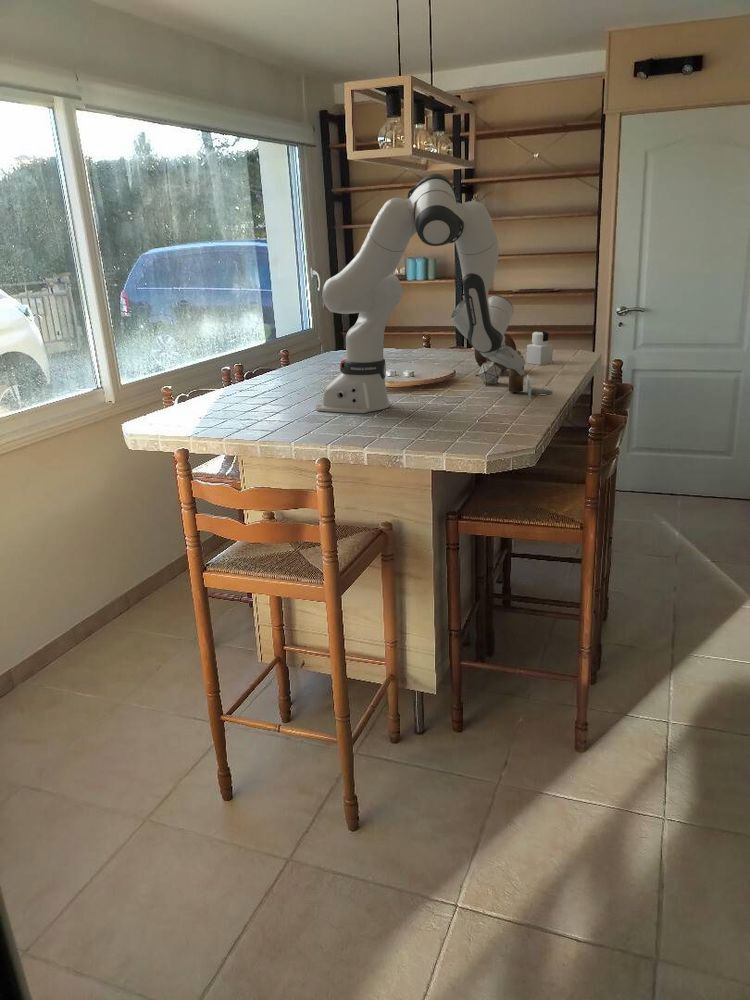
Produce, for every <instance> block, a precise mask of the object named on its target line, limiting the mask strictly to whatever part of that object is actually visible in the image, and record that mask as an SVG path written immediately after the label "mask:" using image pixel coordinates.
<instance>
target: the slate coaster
mask: <svg viewBox="0 0 750 1000" xmlns="http://www.w3.org/2000/svg"><path fill="white" fill-rule="evenodd" d="M551 392H552V390H550V389H542V388H541V389H537V388H536V389H531V393H533V394H549V393H551ZM533 394H532V395H533ZM551 394H552V393H551ZM549 395H550V394H549Z"/></svg>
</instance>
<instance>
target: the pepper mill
mask: <svg viewBox="0 0 750 1000" xmlns="http://www.w3.org/2000/svg"><path fill="white" fill-rule="evenodd" d="M516 352H517V353H518V354H519V355H520V356H521V357H522V358H523V359H524V356H523V355H522V353H521V352H522V351H520V350H516ZM522 369H523V370H524V371H525V365H524V366H523V367H522ZM524 376H525V373H524V374H523V375H522V376H521V375H519V374H518V373H517V372H516V370H514V369H512V368H509V369H508V392H510V393H521V392H522V393H523V392H524V379H525V378H524Z"/></svg>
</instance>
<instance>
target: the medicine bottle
mask: <svg viewBox="0 0 750 1000" xmlns="http://www.w3.org/2000/svg"><path fill="white" fill-rule="evenodd" d="M531 337H532V338H531V343H530V344H527V345H526V357H525V358H526V359H525V362H526V364H528V365H535V366H545V365H550V364H552V363H553V354H554V353H553V351H554V345H553V344H551V343H549V332H547V331H542V330H541V331H534V332H532V335H531ZM549 363H550V364H549Z"/></svg>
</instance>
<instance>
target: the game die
mask: <svg viewBox="0 0 750 1000" xmlns="http://www.w3.org/2000/svg"><path fill="white" fill-rule="evenodd" d="M481 363H482V365H481V367H479V371H478V373H477V374H475V377H478V378H479V379H480V380H482V381H483V384H485V387H487V386H488V384H494V383H496V384H497V385H499V382H498V381H499V379H500V376H501V375H502V373H503V372H502V371H504V369H500V368H499V367H498V366H497V365H496V362H495V363H494V362H493V361H492V362H487V363H483V362H482V361H481ZM504 372H505V371H504Z"/></svg>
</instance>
